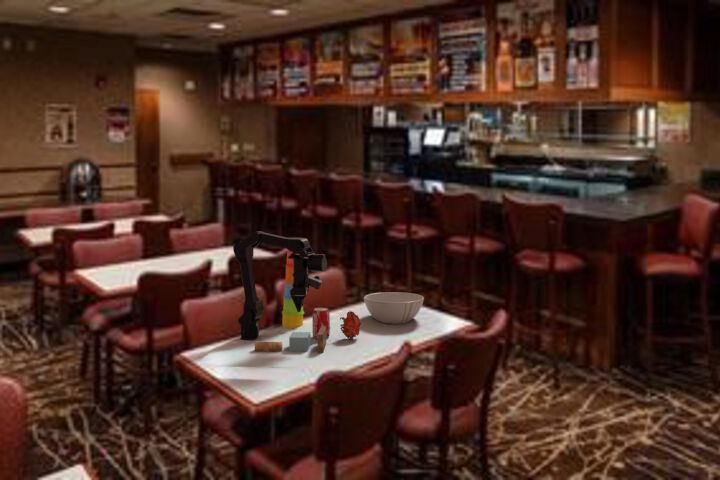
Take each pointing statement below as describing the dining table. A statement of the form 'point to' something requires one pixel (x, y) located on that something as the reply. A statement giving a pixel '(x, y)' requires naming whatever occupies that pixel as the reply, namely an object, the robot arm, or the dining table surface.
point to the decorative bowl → (393, 306)
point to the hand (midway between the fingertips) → (300, 309)
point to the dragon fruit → (351, 325)
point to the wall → (321, 339)
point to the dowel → (268, 346)
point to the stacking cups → (290, 300)
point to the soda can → (320, 321)
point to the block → (299, 341)
